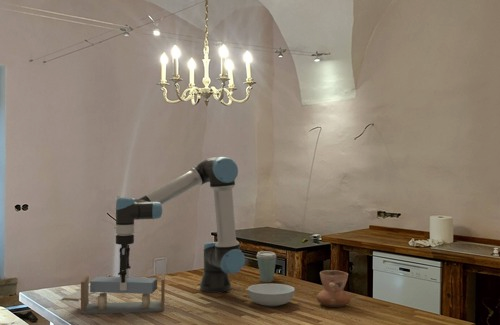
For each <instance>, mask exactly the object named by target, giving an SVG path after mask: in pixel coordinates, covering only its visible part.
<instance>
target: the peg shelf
mask: <svg viewBox="0 0 500 325" xmlns="http://www.w3.org/2000/svg"><path fill="white" fill-rule="evenodd" d="M89 280H90V275H85V277H83V279H82V280H81V282H80V290H81V300H80V312H81V315H92V314H98V313H99V314H119V313H120V314H122V313H124V314H125V313H149V312H150V313H152V312H154V313H155V312H164V309H165V304H166V303H165V302H166V299H165V298H166V296H165V295H166V293H165V292H166V290H165V289H166V286H165V285H166V283H165V282H166V281H165V280H166V273H162V274H161V283H160V285H161V286H160V288H161V293H160V295H161V296H160V297H161V299H160V300H161V301H151V294H142V296H141V301H138V302H137V301H131V302H130V301H129V302H128V301H127V302H125V301H124V302H108V300H107V299H108V293H104V292H99V295H98V296H97V303H96V302H95V303H89V301H90V300H89V298H90V295H89V286H90V281H89Z"/></svg>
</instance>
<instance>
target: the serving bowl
mask: <svg viewBox="0 0 500 325" xmlns="http://www.w3.org/2000/svg"><path fill="white" fill-rule="evenodd" d="M295 291H296V288H295V287H293V286H291V285H288V284H283V283H259V284H252V285H250V286H248V287H247V294H248V296H249V299H250V300H251V301H252V302H253V303H256V304H258V305H261V306H265V307H278V306H281V305H285V304H287V303H289V302H291V301H292V299H293V298H294V296H295Z"/></svg>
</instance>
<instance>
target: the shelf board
mask: <svg viewBox="0 0 500 325" xmlns="http://www.w3.org/2000/svg"><path fill="white" fill-rule="evenodd" d="M89 286H90V292H95V293H107V294H108V293H109V294H110V293H113V294H142V295H143V294H150V295H153V293H154V292H156V290H158V278H157V277H130V276H129V277H127V290H120V276H96V277H95V278H93V279H92V280H90V281H89Z"/></svg>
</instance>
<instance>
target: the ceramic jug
mask: <svg viewBox="0 0 500 325" xmlns="http://www.w3.org/2000/svg"><path fill="white" fill-rule="evenodd" d="M319 277H320V281H321V283H322V286H323V289H322V290H321V291H320V292H318V294H317V295H316V299H317V302H318V303H319V304H320V305H322V306H325V307H328V308H341V307H345V306H347V305H348V304H350V303H351V296H350V295H349V293H347V292H346V291H345V290H344V289H345V287H346V284H347V282H348V278H349V273H348V272H345V271H341V270H337V269H335V270H334V269H332V270H331V269H330V270H329V269H327V270H322V271H320V272H319Z"/></svg>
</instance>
